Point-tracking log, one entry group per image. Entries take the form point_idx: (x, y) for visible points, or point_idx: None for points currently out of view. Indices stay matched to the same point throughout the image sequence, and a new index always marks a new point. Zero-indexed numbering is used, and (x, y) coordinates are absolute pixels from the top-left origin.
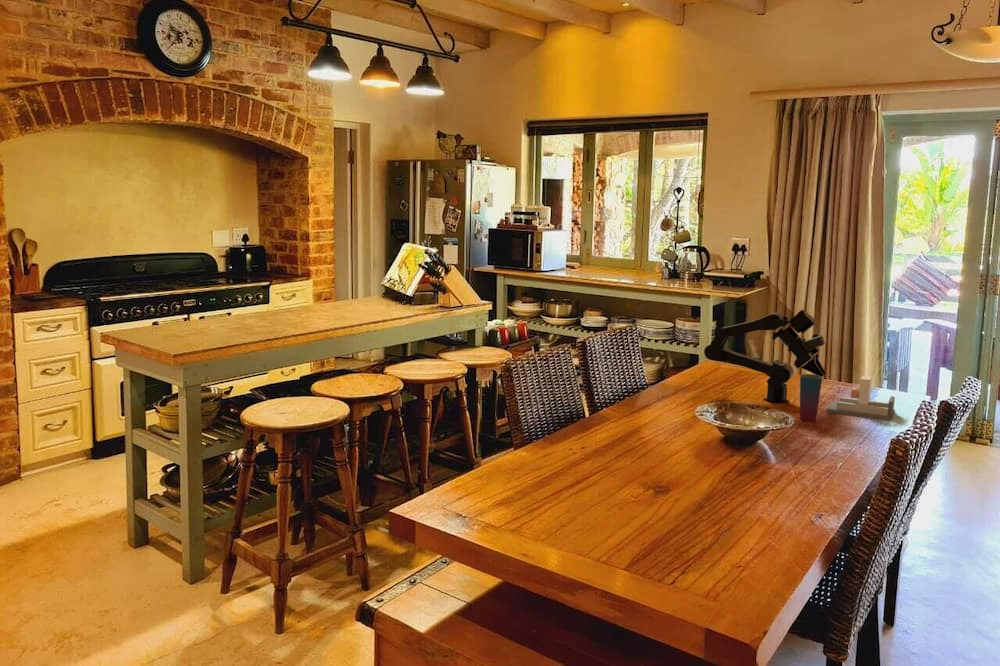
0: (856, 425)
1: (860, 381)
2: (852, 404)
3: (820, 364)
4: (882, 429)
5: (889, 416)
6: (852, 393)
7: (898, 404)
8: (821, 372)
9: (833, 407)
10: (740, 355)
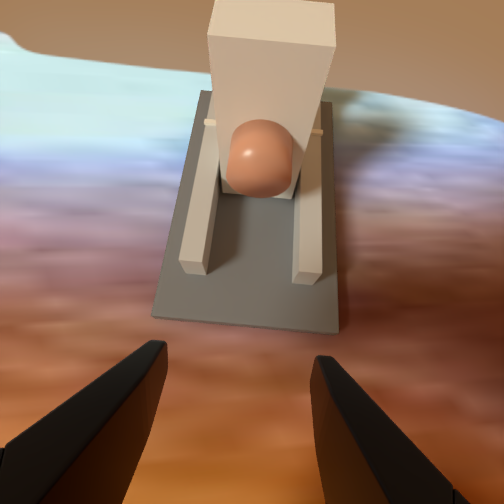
0: (478, 209)
1: (328, 66)
2: (320, 203)
3: (66, 465)
4: (463, 138)
5: None
6: (291, 175)
7: (66, 86)
8: (361, 391)
9: (284, 300)
10: None
